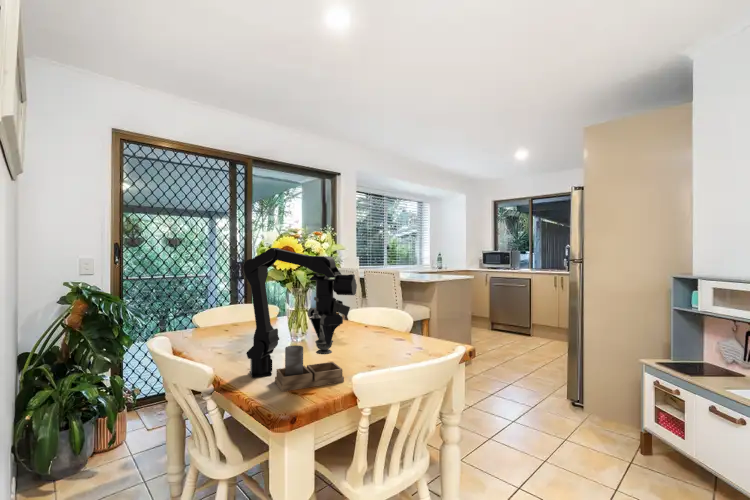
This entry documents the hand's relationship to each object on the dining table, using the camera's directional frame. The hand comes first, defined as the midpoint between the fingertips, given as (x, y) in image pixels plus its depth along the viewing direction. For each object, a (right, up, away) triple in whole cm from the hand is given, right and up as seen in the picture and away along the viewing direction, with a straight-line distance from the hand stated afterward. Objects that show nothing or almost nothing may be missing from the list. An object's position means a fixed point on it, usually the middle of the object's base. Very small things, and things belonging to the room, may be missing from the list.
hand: (324, 341), depth 124 cm
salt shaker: (0, -4, 0) cm, 4 cm away
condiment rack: (-4, -12, -2) cm, 13 cm away
